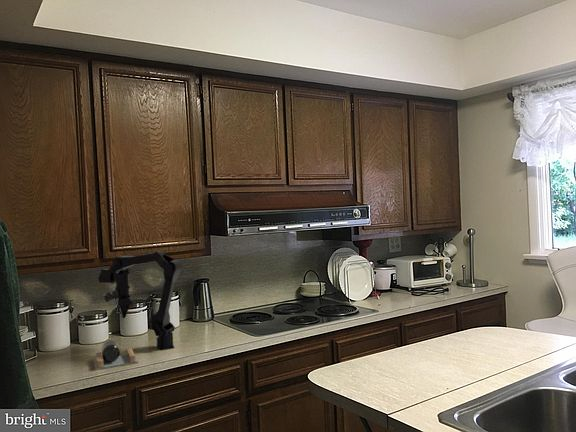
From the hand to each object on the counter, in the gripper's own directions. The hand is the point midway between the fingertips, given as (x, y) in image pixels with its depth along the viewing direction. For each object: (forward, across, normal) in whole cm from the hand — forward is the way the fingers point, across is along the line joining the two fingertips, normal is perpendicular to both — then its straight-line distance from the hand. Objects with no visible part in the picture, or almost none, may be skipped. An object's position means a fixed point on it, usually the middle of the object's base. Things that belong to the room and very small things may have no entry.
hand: (123, 317), depth 215 cm
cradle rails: (+13, +22, -6) cm, 26 cm away
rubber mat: (+13, +22, -6) cm, 26 cm away
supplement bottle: (+9, +14, -7) cm, 18 cm away
